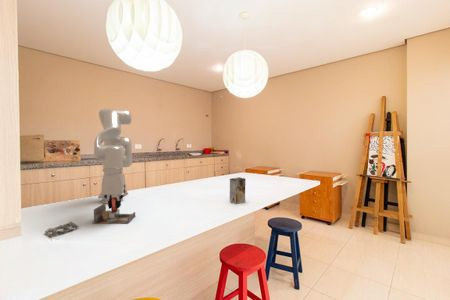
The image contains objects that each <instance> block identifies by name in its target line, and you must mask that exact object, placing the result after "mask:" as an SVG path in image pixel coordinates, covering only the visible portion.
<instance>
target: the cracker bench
mask: <svg viewBox="0 0 450 300" xmlns="http://www.w3.org/2000/svg"><path fill="white" fill-rule="evenodd" d="M106 207H107V206H106V204H105V203H102V204H101V205H99V206H97V207H96V208H94V209H93V222H92V223H91V224H92V225H129V224H130V223H131V222H132V221H133V220H134V219H135V218H136V217H137V215H136V212H135V211H134V212H133V213H120V217H119V218H118V219H107V221H102V212H103V211H107V208H106Z"/></svg>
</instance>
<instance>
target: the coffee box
mask: <svg viewBox="0 0 450 300" xmlns="http://www.w3.org/2000/svg"><path fill="white" fill-rule="evenodd" d="M244 202H246V178H245V177H244V178H243V177H233V178H229V203H231V204H234V205H237V204H241V203H244Z"/></svg>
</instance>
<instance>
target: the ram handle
mask: <svg viewBox="0 0 450 300" xmlns="http://www.w3.org/2000/svg"><path fill="white" fill-rule="evenodd" d="M116 201H117V197H111V208H110V211H111V212H110V213H109V219H118V218H119V217H120V214H121V212H120V208H118V209H116Z"/></svg>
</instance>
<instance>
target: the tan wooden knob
mask: <svg viewBox="0 0 450 300" xmlns="http://www.w3.org/2000/svg"><path fill="white" fill-rule="evenodd" d="M110 212H111V209H110V210H109V209H106V211H103V212H102V221H107V219H109V213H110Z"/></svg>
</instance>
